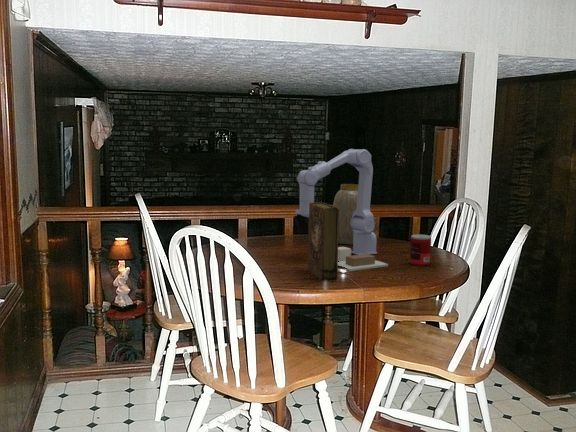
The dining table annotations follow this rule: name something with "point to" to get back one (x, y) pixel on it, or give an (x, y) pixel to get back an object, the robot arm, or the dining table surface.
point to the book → (323, 240)
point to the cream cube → (343, 253)
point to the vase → (346, 211)
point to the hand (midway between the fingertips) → (306, 234)
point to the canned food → (420, 250)
